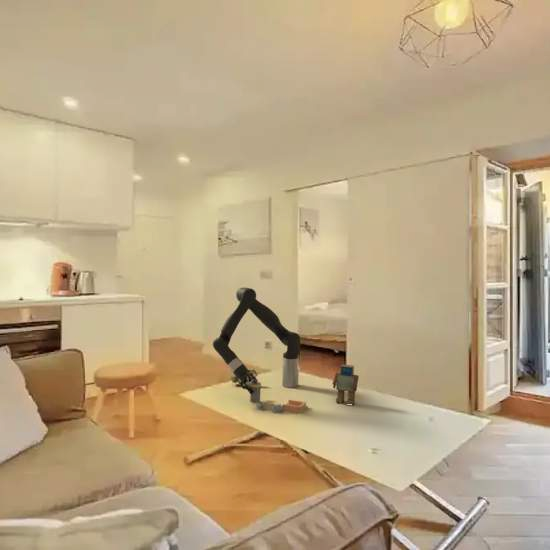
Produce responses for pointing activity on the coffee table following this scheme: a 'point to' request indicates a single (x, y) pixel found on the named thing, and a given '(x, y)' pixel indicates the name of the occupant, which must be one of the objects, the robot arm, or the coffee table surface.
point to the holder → (294, 406)
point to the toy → (346, 383)
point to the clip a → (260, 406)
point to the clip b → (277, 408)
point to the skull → (239, 378)
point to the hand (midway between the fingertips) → (256, 391)
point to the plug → (255, 391)
